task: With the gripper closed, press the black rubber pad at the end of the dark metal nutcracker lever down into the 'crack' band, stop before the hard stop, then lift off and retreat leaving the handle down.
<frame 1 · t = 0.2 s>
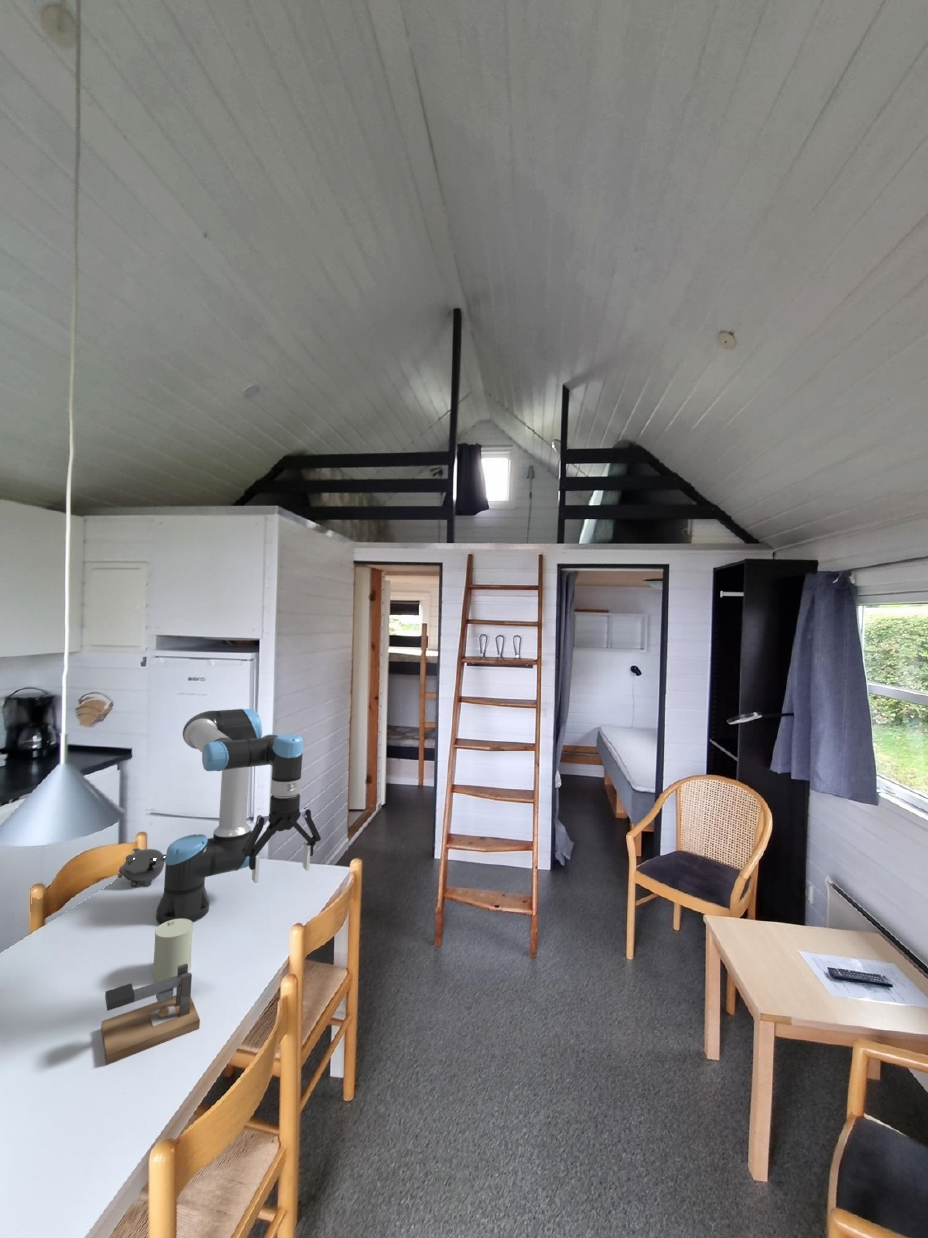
hand: (281, 874, 141), 28 cm above the table, fingers open, 13 cm apart
piggy bank: (142, 883, 189), on the table
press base: (150, 1029, 122), on the table
lever: (149, 993, 121), point 8 cm above the table, hinge at 0.0°
can: (171, 971, 142), on the table
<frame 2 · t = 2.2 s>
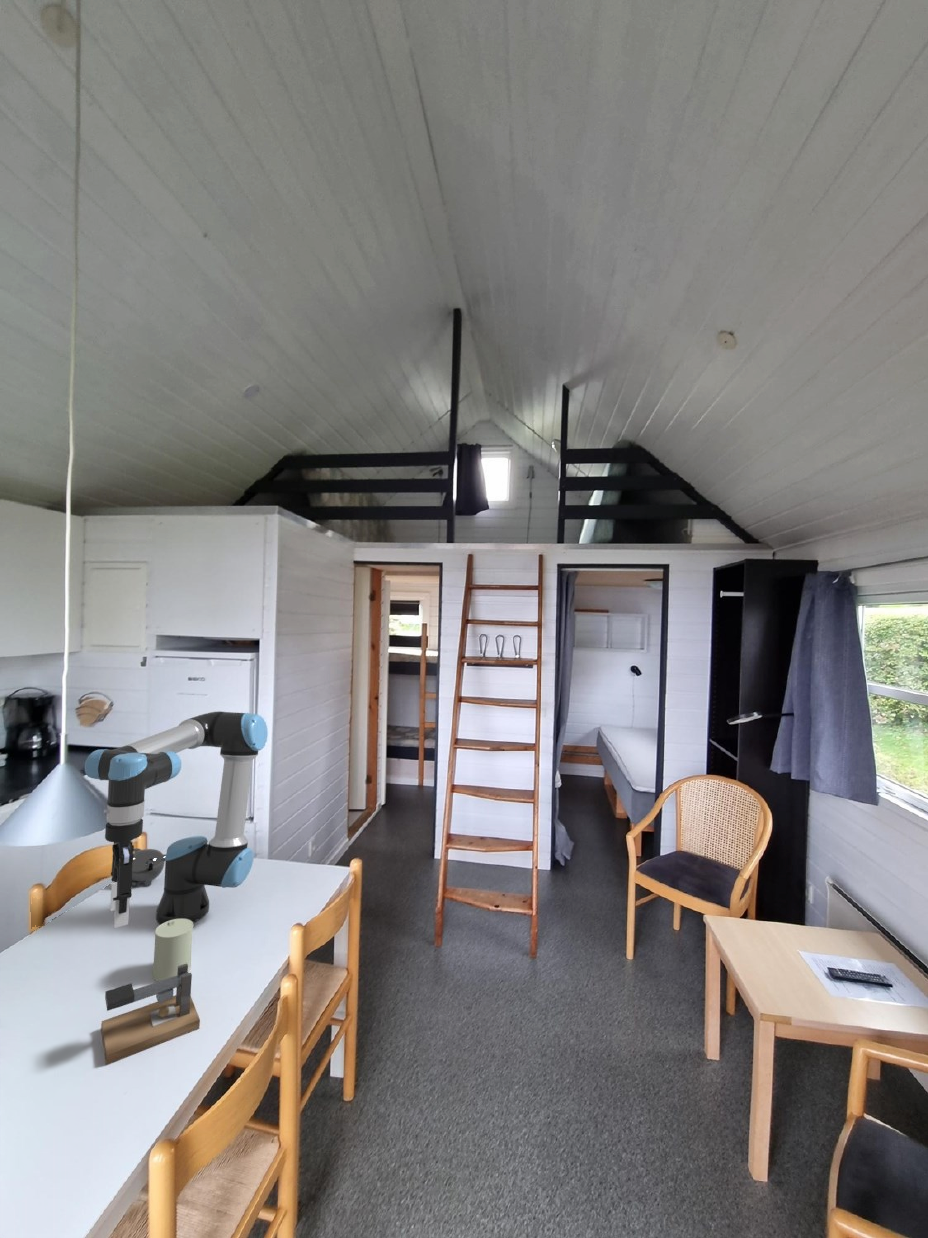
hand: (118, 917, 126), 23 cm above the table, fingers open, 8 cm apart
nothing on the table moved.
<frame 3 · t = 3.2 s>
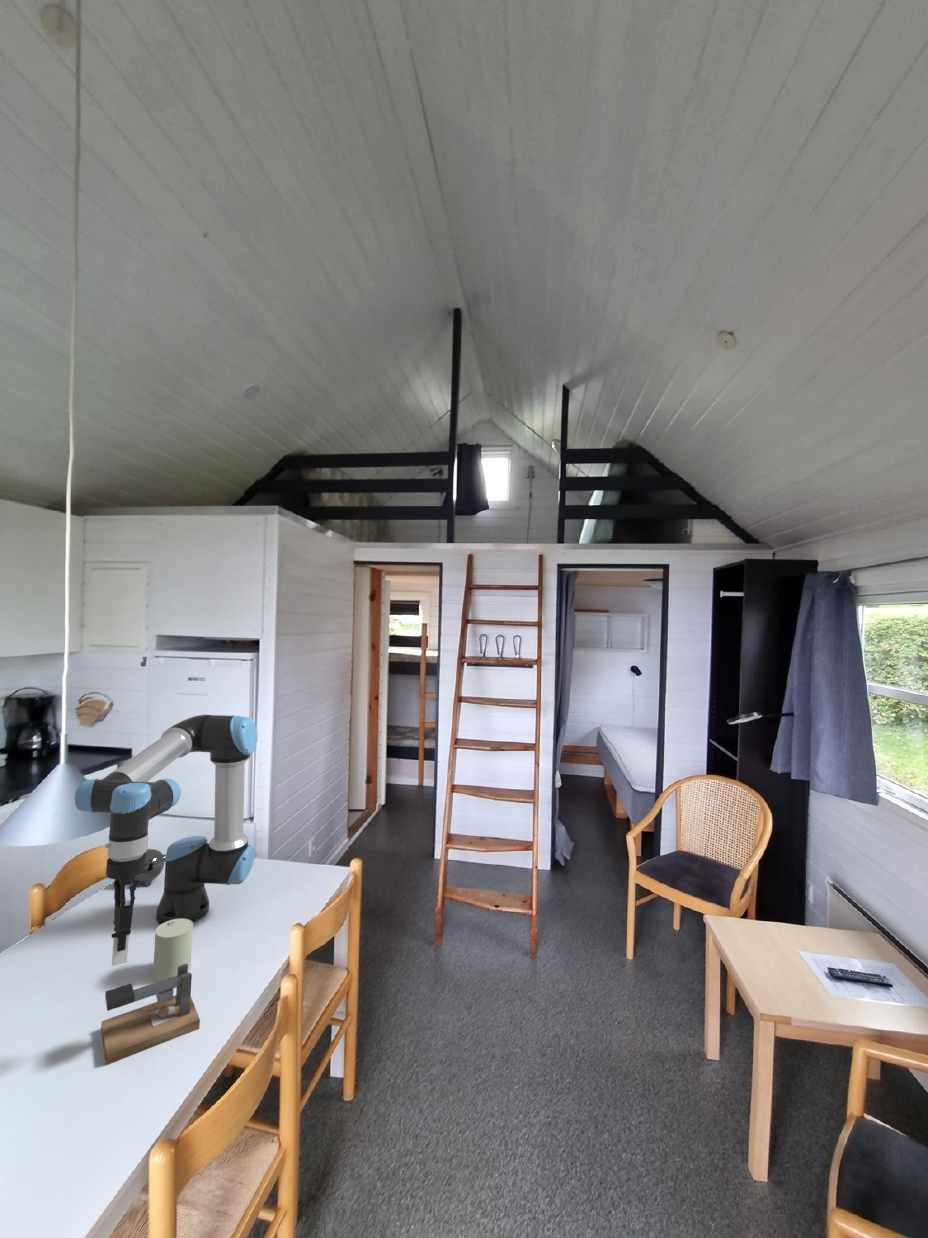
hand: (119, 962, 118), 17 cm above the table, fingers closed
nothing on the table moved.
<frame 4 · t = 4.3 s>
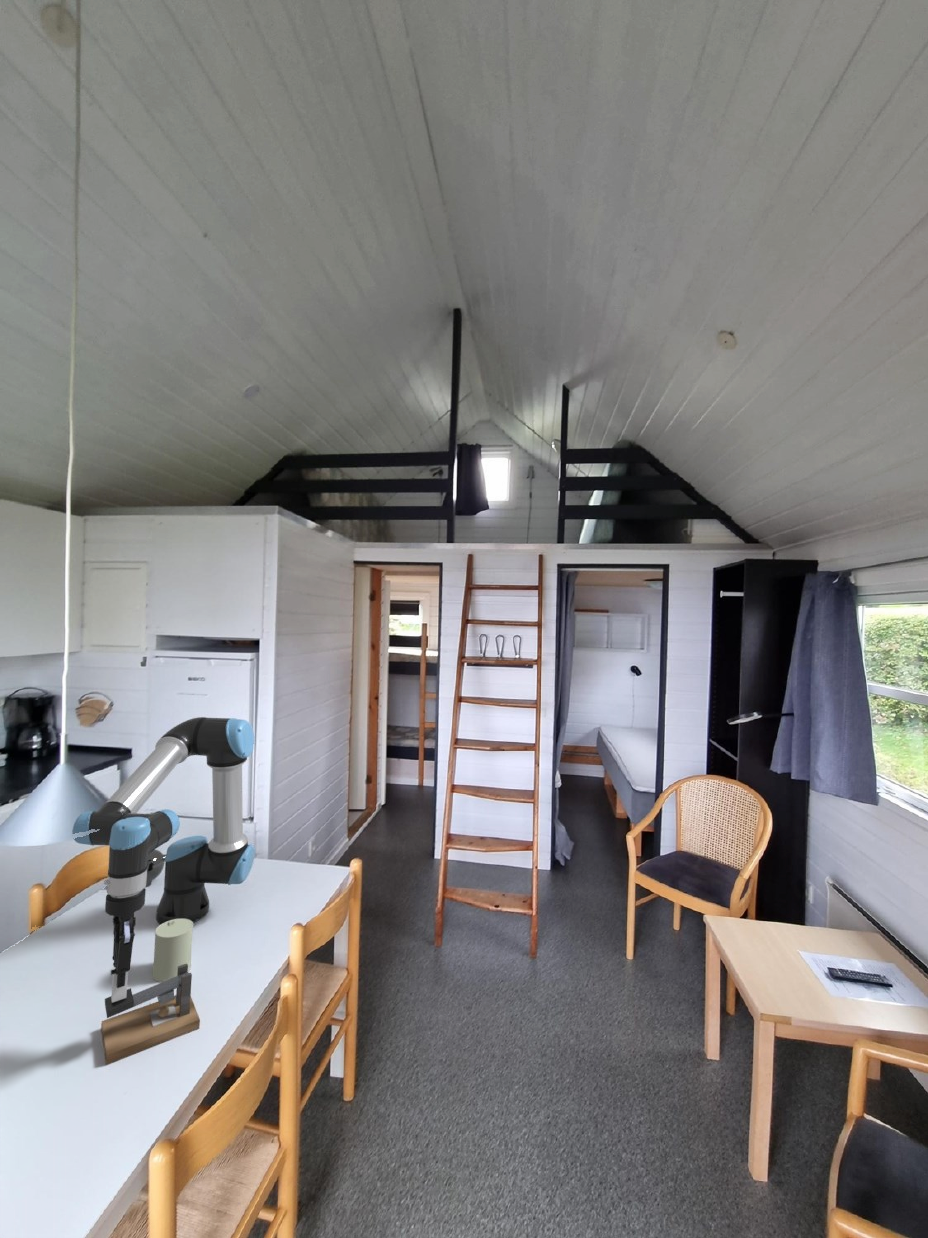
hand: (118, 998, 118), 10 cm above the table, fingers closed
lever: (149, 996, 121), point 8 cm above the table, hinge at 6.0°, touching gripper
everything else where it was.
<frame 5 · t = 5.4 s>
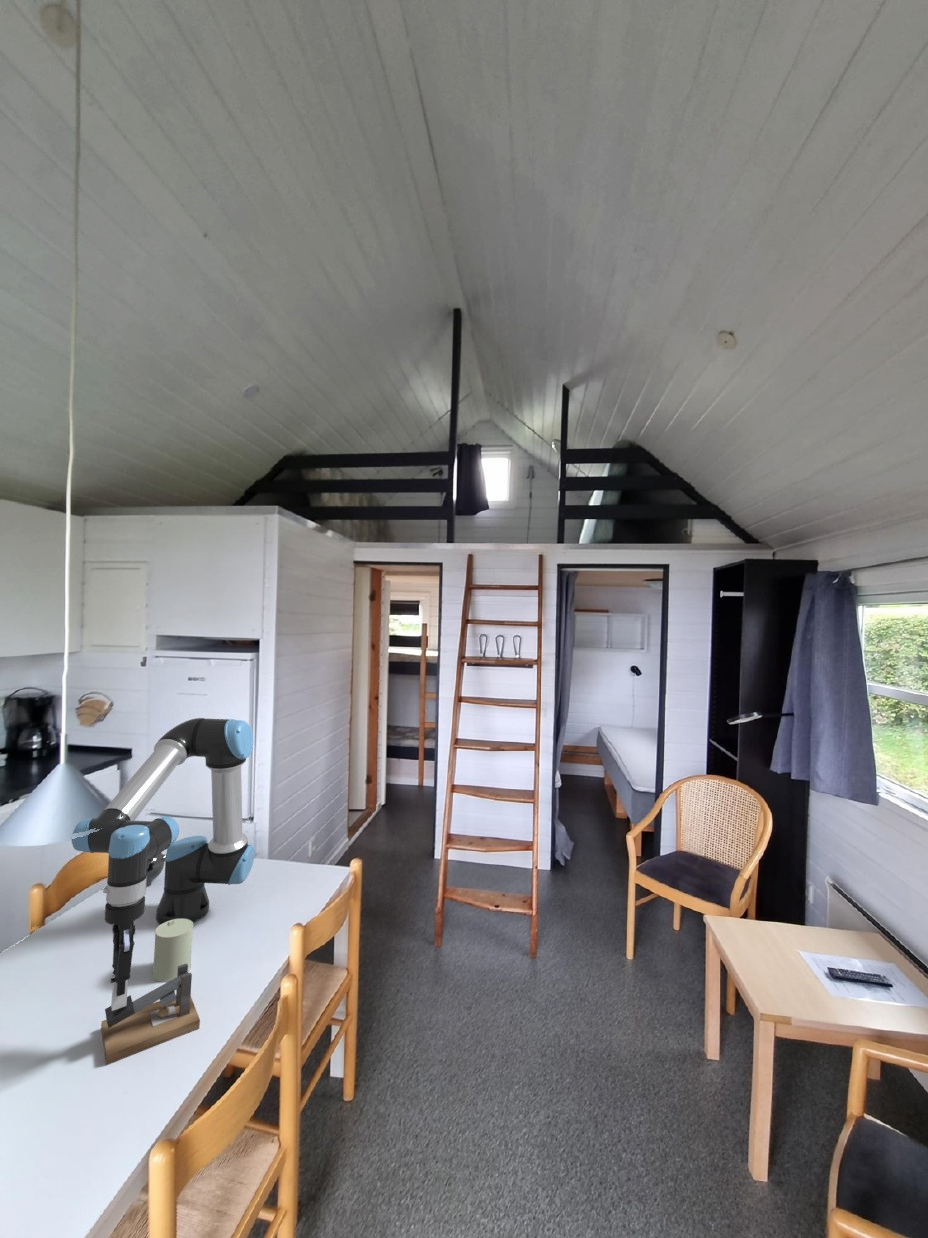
hand: (118, 1006, 118), 8 cm above the table, fingers closed
lever: (151, 1000, 122), point 7 cm above the table, hinge at 14.5°, touching gripper
everything else where it was.
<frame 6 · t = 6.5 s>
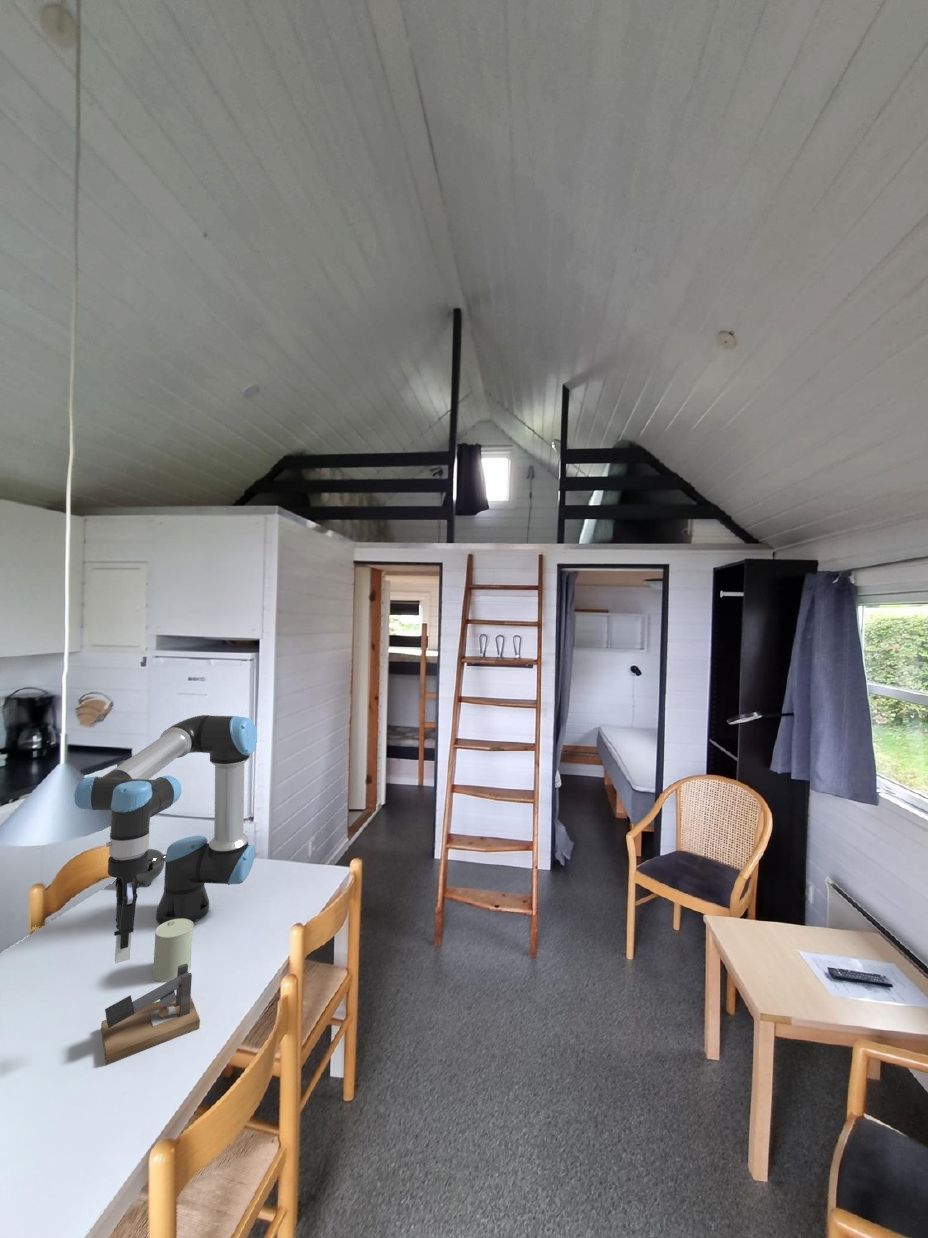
hand: (122, 959, 118), 18 cm above the table, fingers closed
lever: (151, 1000, 122), point 7 cm above the table, hinge at 14.5°
everything else where it was.
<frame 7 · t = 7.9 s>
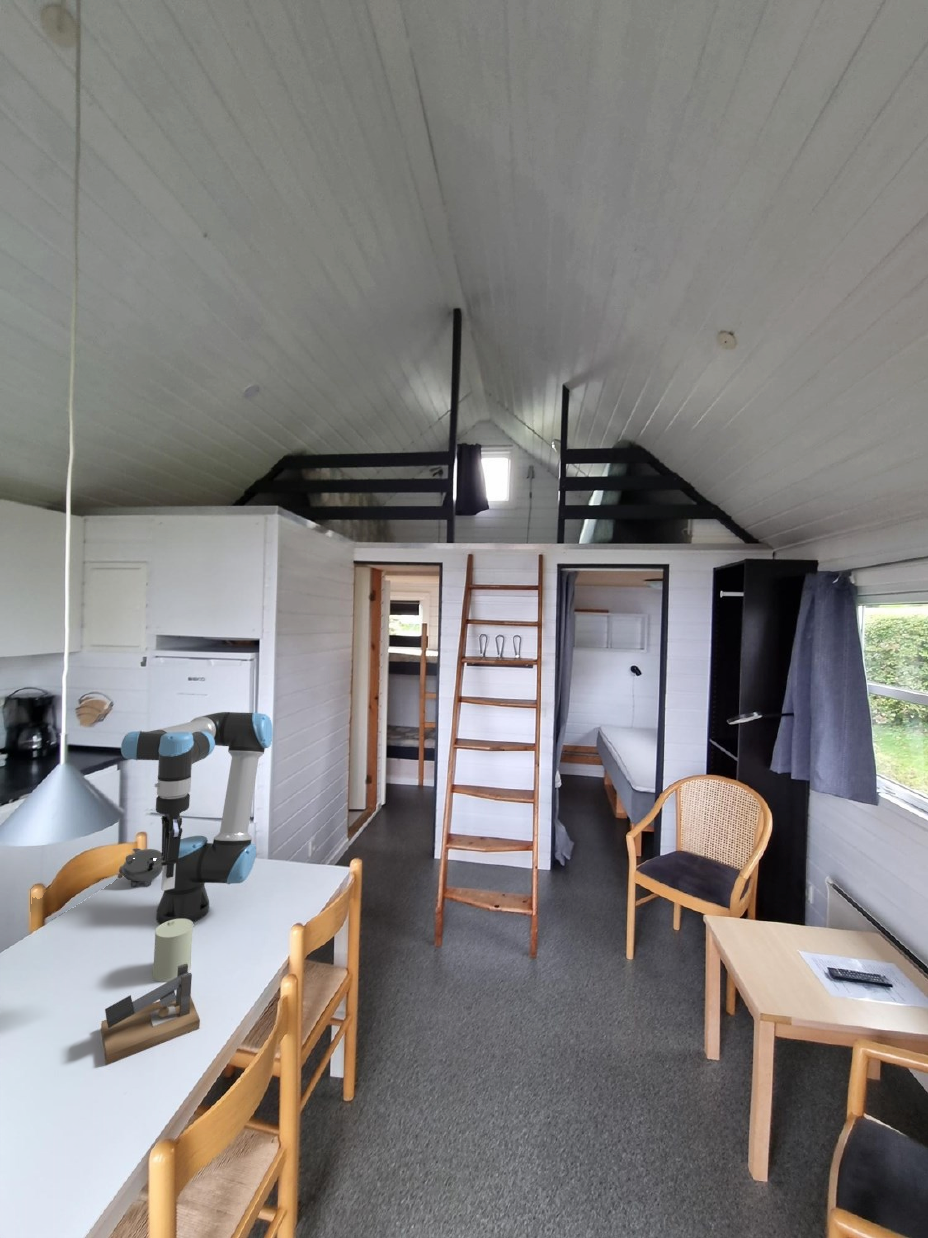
hand: (167, 888, 134), 26 cm above the table, fingers closed
nothing on the table moved.
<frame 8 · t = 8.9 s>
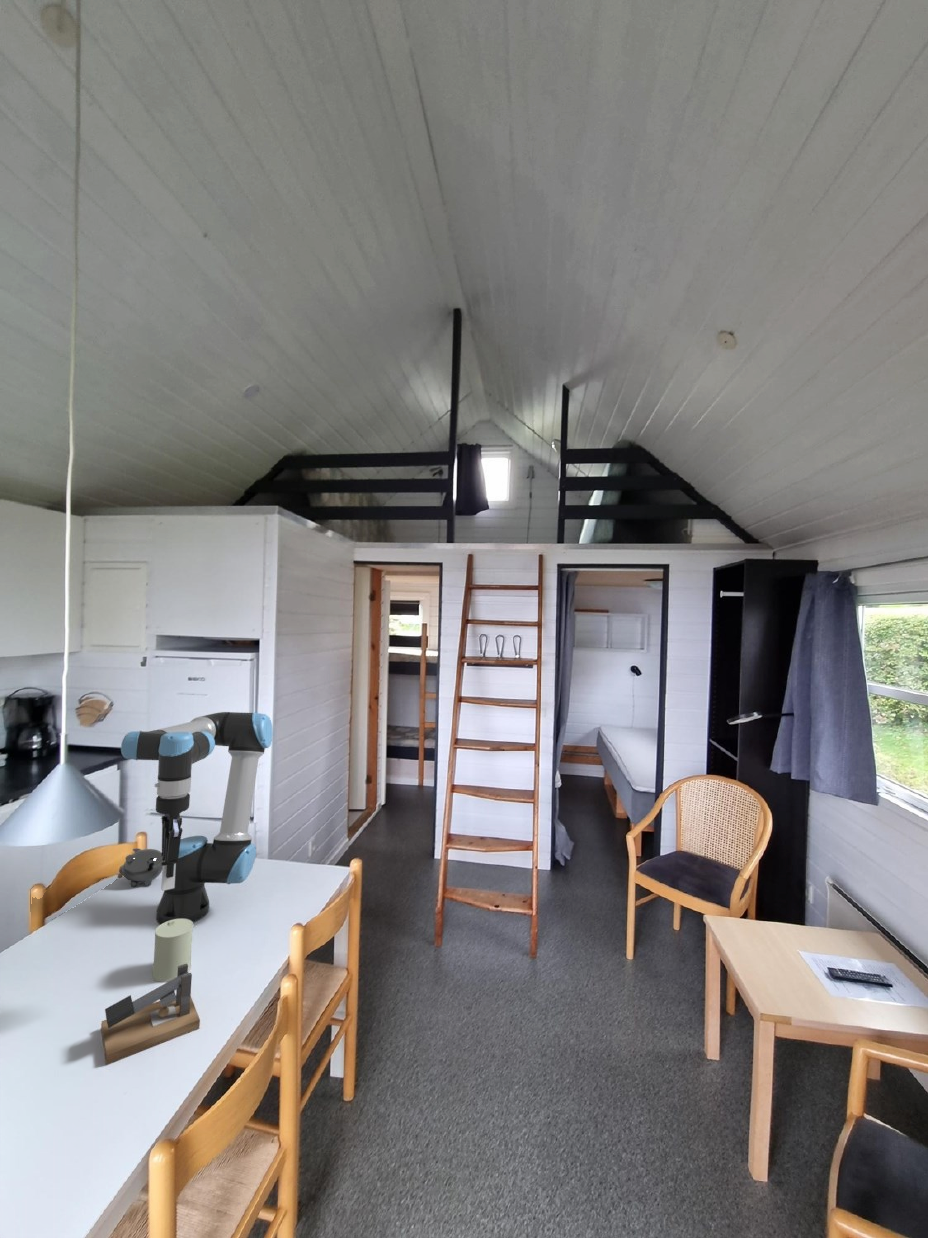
hand: (167, 888, 134), 26 cm above the table, fingers closed
nothing on the table moved.
at the end: lever at +14° (first picture: +0°) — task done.
